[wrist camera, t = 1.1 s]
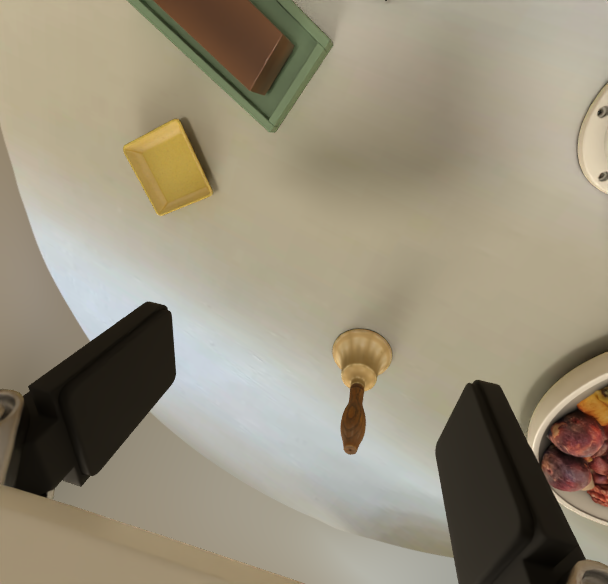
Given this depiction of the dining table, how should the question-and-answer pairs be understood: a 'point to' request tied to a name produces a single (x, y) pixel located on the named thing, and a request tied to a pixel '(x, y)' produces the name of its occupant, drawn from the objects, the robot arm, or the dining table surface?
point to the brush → (235, 38)
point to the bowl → (575, 439)
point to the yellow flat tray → (168, 168)
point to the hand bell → (359, 377)
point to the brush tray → (290, 80)
